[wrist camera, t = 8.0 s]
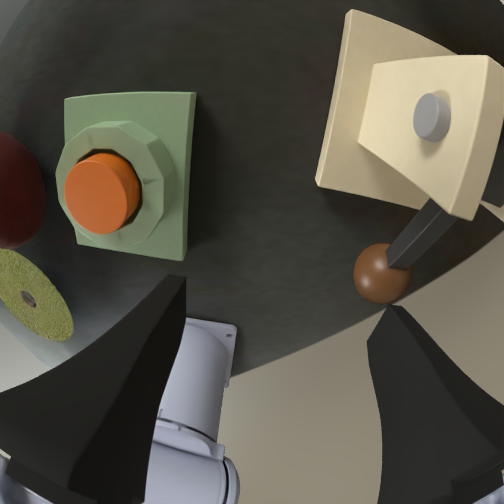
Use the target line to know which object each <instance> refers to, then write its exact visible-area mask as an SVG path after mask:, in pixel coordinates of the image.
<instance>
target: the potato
mask: <svg viewBox="0 0 504 504" xmlns="http://www.w3.org/2000/svg"><path fill="white" fill-rule="evenodd" d="M45 211H46V192H45V185H44V182H43V178H42V173H41V170H40V168H39V166H38V163H37V161H36V159H35V157H34V156H33V155H32V154H31V152H30V151H29V150H28V148H27V147H26V146H25V145H24V144H22V143H21V142H19V141H18V140H16V139H15V138H13V137H12V136H10V135H9V134H8V133H5V132H0V248H1V249H15V248H17V247H20V246H22V245H24V244H26V243H28V242H29V241H30V239H31V238H32V237H33V236H34V235H35V234H36V233H37V231H38V230H39V229H40V227H41V225H42V223H43V220H44V216H45Z"/></svg>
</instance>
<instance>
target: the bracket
mask: <svg viewBox="0 0 504 504" xmlns="http://www.w3.org/2000/svg"><path fill="white" fill-rule="evenodd" d="M503 120H504V68H503V67H502V66H501V65H500V64H498V63H497V62H496V61H494V60H493V59H492V58H490V57H489V56H487V55H457V54H455V53H453V52H451V51H450V50H448V49H446V48H444V47H442V46H441V45H439V44H437V43H435V42H433V41H431V40H429V39H427V38H425V37H423V36H421V35H419V34H417V33H414V32H412V31H410V30H408V29H405V28H403V27H401V26H398V25H396V24H393V23H391V22H388V21H386V20H383V19H380V18H378V17H375V16H372V15H369V14H366V13H363V12H360V11H357V10H354V9H351V10H350V11H349V12H348V13H347V14H346V17H345V24H344V31H343V37H342V43H341V50H340V56H339V62H338V68H337V73H336V79H335V85H334V90H333V95H332V101H331V106H330V111H329V116H328V121H327V126H326V131H325V136H324V141H323V145H322V150H321V155H320V159H319V164H318V168H317V173H316V177H315V180H316V182H317V184H318V186H319V187H324V188H329V189H334V190H339V191H344V192H348V193H353V194H357V195H362V196H366V197H371V198H375V199H379V200H384V201H388V202H392V203H396V204H400V205H404V206H408V207H411V208H415V209H419V210H420V209H421V208H422V207H423V206H424V204H425V203H426V202H427V201H428V199H429V198H431V199H432V200H434V201H435V202H436V203H437V204H438V205H439V206H440V207H441V208H443V209H444V210H445V211H446V212H447V213H448V214H450V215H453V216H456V217H459V218H462V219H465V220H469V221H472V220H473V218H474V216H475V213H476V211H477V208H478V206H479V203H481V204H482V205H483V206H484V207H486V208H487V209H488V210H489V211H491V212H492V213H493V214H494V215H496V216H497V217H498V218H499V219H500V220H501V221H503V222H504V205H503V206H502V207H501V208H499V207H496V206H494V205H492V204H490V203H487V202H485V201H482V200H481V197H482V195H483V192H484V189H485V186H486V183H487V180H488V177H489V174H490V171H491V167H492V164H493V161H494V157H495V154H496V150H497V146H498V142H499V138H500V134H501V129H502V125H503Z"/></svg>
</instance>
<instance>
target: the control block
mask: <svg viewBox="0 0 504 504" xmlns="http://www.w3.org/2000/svg"><path fill="white" fill-rule="evenodd" d="M196 95H197V93H193V92H124V93H107V94H95V95H86V96H77V97H71V98H66V99H65V104H64V127H65V146H64V149H63V152H62V155H61V157H60V160H59V163H58V166H57V169H56V182H57V190H58V197H59V203H60V204H61V206H62V208H63V210H64V211H65V213H66V215H67V216H68V218H69V220H70V221H71V223H72V225H73V226H74V228H75V233H76V239H77V244H81V245H86V246H92V247H98V248H104V249H110V250H116V251H122V252H128V253H134V254H140V255H146V256H152V257H159V258H165V259H171V260H178V261H183V259H184V257H185V255H186V252H187V229H188V200H189V180H190V164H191V150H192V137H193V125H194V115H195V105H196ZM98 153H111V154H115V155H117V156H119V157H121V158H123V159H124V160H125V161H126V162H127V163H128V164H129V165H130V166H131V167H132V169H133V170H134V172H135V174H136V176H137V179H138V182H139V187H140V197H139V202H138V205H137V208H136V209H135V211H134V212H133V214H132V215H131V216H130V217H129V218H128V219H127V220H126V221H125V222H124V224H123V225H122V226H121V227H120V228H119V229H118V230H116V231H114V232H112V233H108V234H96V233H92V232H90V231H88V230H86V229H84V228H83V227H81V226H80V225H79V224H78V223H77V222H76V221H75V220H74V218H73V217H72V215H71V214H70V212H69V210H68V208H67V205H66V202H65V197H64V186H65V181H66V178H67V175H68V174H69V172H70V170H71V169H72V168H73V167H74V166H75V165H76V164H78V163H80V162H81V161H83V160H85V159H87V158H89V157H91V156H93V155H95V154H98Z"/></svg>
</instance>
